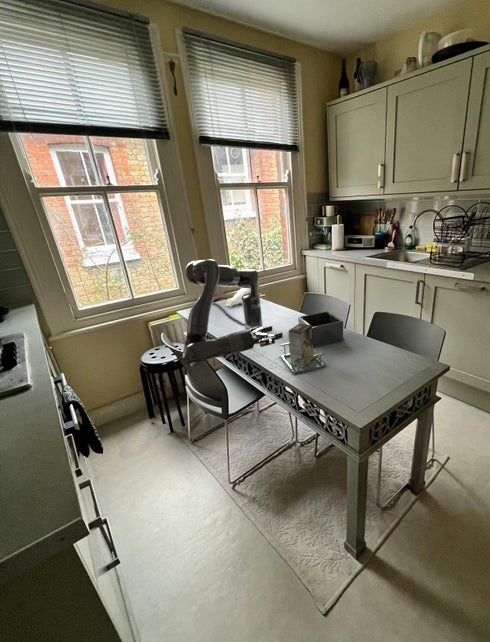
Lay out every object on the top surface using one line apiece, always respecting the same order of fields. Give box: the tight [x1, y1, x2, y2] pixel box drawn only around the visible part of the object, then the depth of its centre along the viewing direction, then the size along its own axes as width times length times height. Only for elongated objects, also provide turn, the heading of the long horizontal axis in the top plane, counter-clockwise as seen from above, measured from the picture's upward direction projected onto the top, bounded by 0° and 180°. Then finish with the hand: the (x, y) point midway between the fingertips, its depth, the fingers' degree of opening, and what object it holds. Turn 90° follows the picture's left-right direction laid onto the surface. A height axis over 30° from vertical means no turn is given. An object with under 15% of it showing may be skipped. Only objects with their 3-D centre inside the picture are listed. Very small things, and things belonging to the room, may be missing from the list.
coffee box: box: [288, 322, 314, 368], centre depth 134 cm, size 9×6×16 cm
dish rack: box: [280, 342, 326, 375], centre depth 136 cm, size 17×14×6 cm
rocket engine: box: [225, 288, 251, 308], centre depth 213 cm, size 12×12×18 cm
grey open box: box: [297, 310, 344, 348], centre depth 157 cm, size 17×17×10 cm
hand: (276, 331), depth 125 cm, fingers open, 8 cm apart
